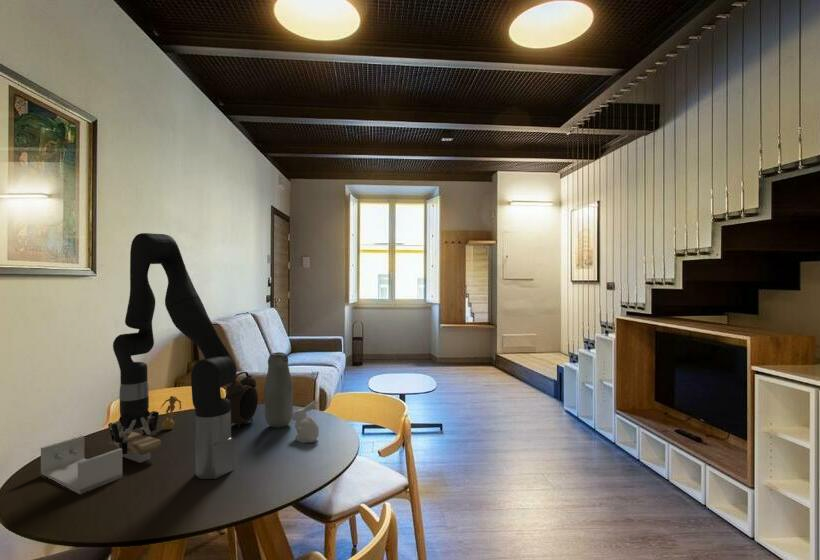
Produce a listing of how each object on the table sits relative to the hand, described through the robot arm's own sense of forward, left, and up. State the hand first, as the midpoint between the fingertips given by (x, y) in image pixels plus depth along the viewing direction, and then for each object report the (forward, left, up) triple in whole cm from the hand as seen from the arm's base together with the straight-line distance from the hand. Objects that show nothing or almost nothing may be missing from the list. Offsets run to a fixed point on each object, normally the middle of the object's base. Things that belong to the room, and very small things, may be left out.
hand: (134, 449), depth 126 cm
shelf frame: (0, +14, -2) cm, 14 cm away
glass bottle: (-21, -40, -2) cm, 45 cm away
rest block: (0, 0, -2) cm, 2 cm away
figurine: (+14, -20, -2) cm, 24 cm away
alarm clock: (-7, -35, -2) cm, 36 cm away
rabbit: (-38, -36, -2) cm, 52 cm away
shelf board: (0, 0, +1) cm, 1 cm away
